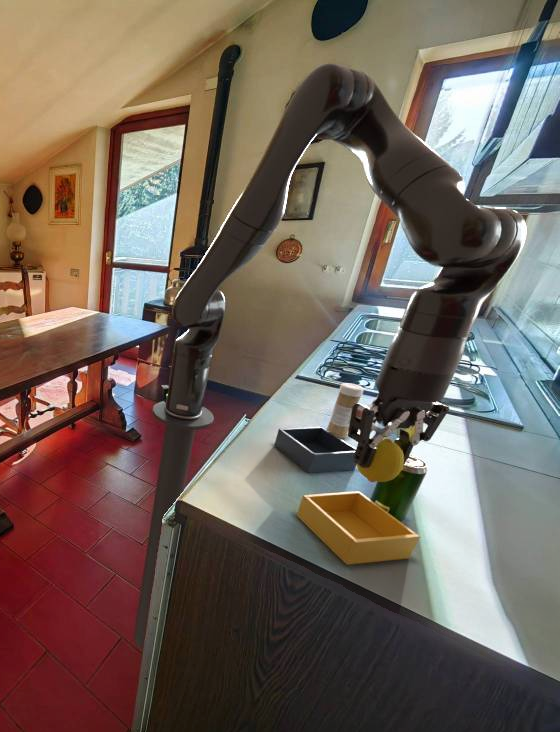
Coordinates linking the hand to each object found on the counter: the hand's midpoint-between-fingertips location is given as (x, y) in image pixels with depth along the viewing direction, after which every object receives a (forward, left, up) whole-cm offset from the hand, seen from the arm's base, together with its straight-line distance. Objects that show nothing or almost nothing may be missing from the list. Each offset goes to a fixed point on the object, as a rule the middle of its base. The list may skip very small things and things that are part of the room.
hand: (378, 463), depth 61 cm
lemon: (0, 0, -4) cm, 4 cm away
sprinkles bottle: (-32, +26, -15) cm, 44 cm away
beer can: (-4, +11, -15) cm, 19 cm away
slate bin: (-23, +12, -15) cm, 30 cm away
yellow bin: (0, 0, -15) cm, 15 cm away
